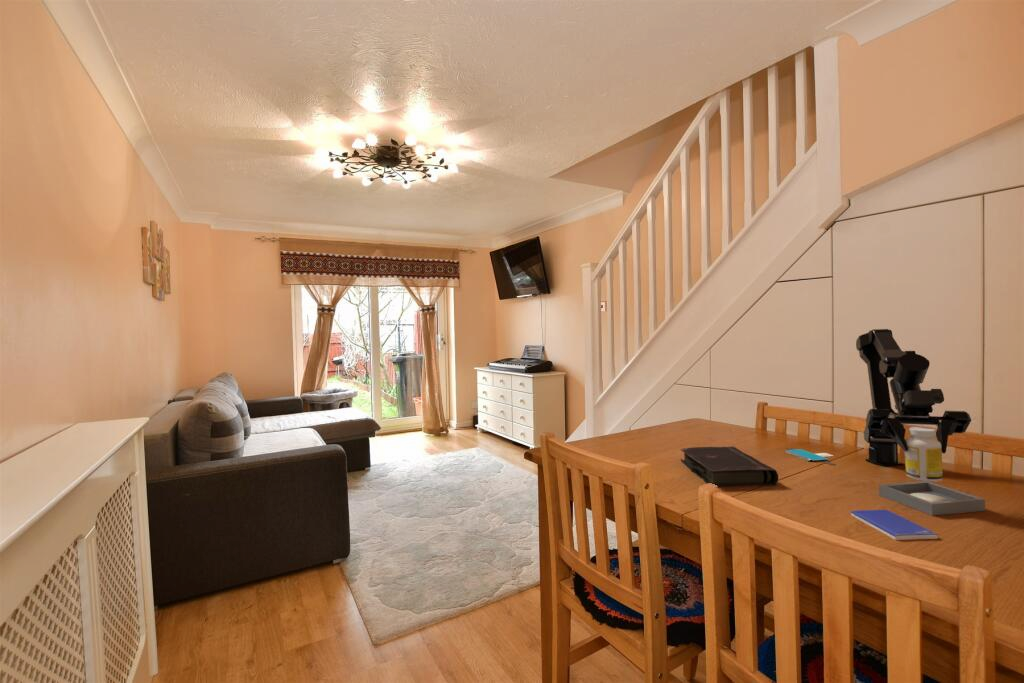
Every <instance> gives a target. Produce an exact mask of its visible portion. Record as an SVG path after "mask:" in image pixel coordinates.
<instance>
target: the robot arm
mask: <svg viewBox="0 0 1024 683" xmlns="http://www.w3.org/2000/svg"><path fill="white" fill-rule="evenodd" d="M855 346H856V350H857V351H858V353H859V354H858V355H859V358H860V359H861V360H862V361H863V362H864V363H865V364H866V366H867V375H868V382H869V389H870V396H871V406H872V408H870V409H869V410H868V411H867V415H866V417H865V426H864V430H863V438H864V441H865V442H866V443H867V444H869V446H868V458H865V461H866V462H870V463H872V464H875V465H879V466H883V467H888V466H889V467H891V466H900V465H904V463H903V462H902V461H899V452H898V450H899V449H898V447H900V448H901V449H902V450H903V451H904V452H905V451H907V450H908V448H907V444H906V441H905V440H906V439H905V438H906V437H905V436H906V432H907V429H906V428H905V427H904V425H916V426H917V425H918V426H919V425H920V426H921V425H922V426H935V427H936V428H937V429H936V436H935V437H936V440H938V441H939V442H940V443H941V445H942V454H946V453H947V447H948V439H949V436H953V434H963V433H966V431H967V429H968V427H969V425H970V424H971V422H972V418H971V415H970V413H968V412H967V411H964V410H944V412H943V415H942V416H933V415H930V414H931V413H933V410H934V408H933V406H935V405H936V404H937V405H938V404H942V403H944V402H945V396H944V392H943V391H942V388H931V389H930V390H928V389H927V390H924V389H923V390H922V389H921V386H920V384H923V382H924V380H925V378H926V375H927V372H928V370H929V369H930V368H929V367H930V360H929V359H927V358H926V357H925V356H923V355H921V354H918V353H916V351H915V350H904V351H903V350H902V349H901V348H900V345H899V344H898V343H897V341H896V339H895V338H894V336H893V332H892V329H888V328H878V329H877V328H875V329H872V330H869V331H868V332H866V333H863V334H860V335H858V337H857V339H856V341H855ZM889 378H890V381H889V380H888V379H889ZM889 387H890V388H889ZM890 389H891V390H890ZM890 391H891V393H892V396H893V400H894V403H895V404H894V409H895V410H896V411H897V412H896V411H895V410H894V409H893V408H892V402H891V395H890V394H891V393H890Z"/></svg>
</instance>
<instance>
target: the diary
mask: <svg viewBox="0 0 1024 683" xmlns="http://www.w3.org/2000/svg"><path fill="white" fill-rule="evenodd" d="M679 450H680V451H681V452H682V453H683V454H684V455H683V456H684V459H682V458H680V462H681V463H682V464H683V465H684V466H685V467H687V469H689V470H690V471H692V472H693V473H694V474H695V475H696V476H697V477H698V478H699V479H702V480H703V481H704V482H705V484H707V483H712V484H715V485H717V486H718V487H717V488H732V487H733V488H735V487H736V488H737V487H742V488H743V487H763V486H764V487H767V486H769V487H770V486H771V487H772V486H777V484H778V482H779V474H778V472H777V470H776V469H775V468H773V467H772V466H769V465H767V464H765V463H763V462H762V461H760V460H758V459H756V458H755V457H753V456H751V455H749V454H747V453H745V452H743V451H742V450H740V449H739V448H737V447H735V446H695V447H694V446H693V447H686V448H685V447H684V448H680V449H679Z"/></svg>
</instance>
